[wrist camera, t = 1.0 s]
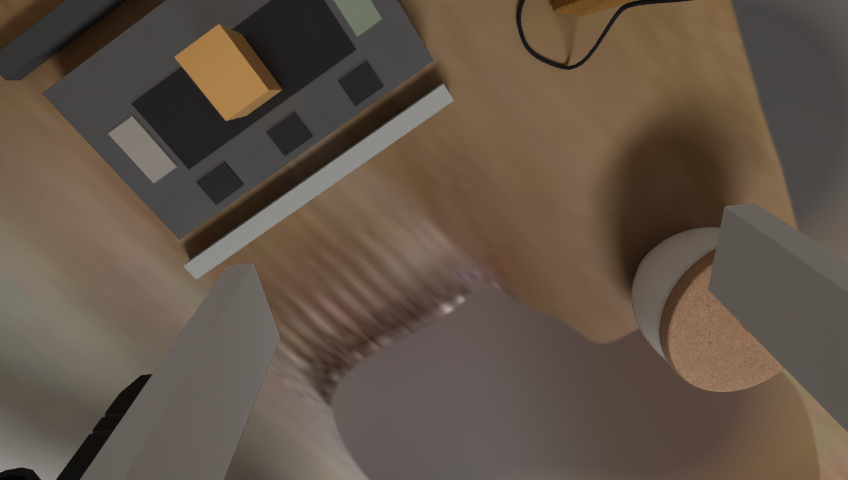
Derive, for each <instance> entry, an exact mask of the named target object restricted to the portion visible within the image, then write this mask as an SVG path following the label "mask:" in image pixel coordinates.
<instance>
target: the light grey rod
mask: <svg viewBox="0 0 848 480" xmlns="http://www.w3.org/2000/svg"><path fill="white" fill-rule="evenodd" d="M452 101H454V100H453V98H452V97H451V95H450V93H449V92H448V90H447V88H446V87H445V85H444V84H440V85H438V86H437V87H435V88H434V89H433V90H431V91H430V92H428V93H427V94H425V95H424V96H423V97H421V98H420V99H418V100H417V101H415V102H414V103H413V104H411V105H410V106H408V107H407V108H405V109H404V110H403V111H401V112H400V113H398V114H397V115H395V116H394V117H393V118H391V119H390V120H388V121H387V122H385V123H384V124H383V125H381V126H380V127H378V128H377V129H376V130H374V131H373V132H371V133H370V134H368V135H367V136H366V137H364V138H363V139H361V140H360V141H358V142H357V143H356V144H354V145H353V146H351V147H350V148H348V149H347V150H346V151H344V152H343V153H341V154H340V155H338V156H337V157H336V158H334V159H333V160H331V161H330V162H328V163H327V164H326V165H324V166H323V167H321V168H320V169H318V170H317V171H316V172H314V173H313V174H311V175H310V176H308V177H307V178H306V179H304V180H303V181H301V182H300V183H298V184H297V185H296V186H294V187H293V188H291V189H290V190H288V191H287V192H286V193H284V194H283V195H281V196H280V197H278V198H277V199H276V200H274V201H273V202H271V203H270V204H268V205H267V206H266V207H264V208H263V209H261V210H260V211H258V212H257V213H256V214H254V215H253V216H251V217H250V218H248V219H247V220H246V221H244V222H243V223H241V224H240V225H238V226H237V227H236V228H234V229H233V230H231V231H230V232H228V233H227V234H226V235H224V236H223V237H221V238H220V239H218V240H217V241H216V242H214V243H213V244H211V245H210V246H208V247H207V248H206V249H204V250H203V251H201V252H200V253H198V254H197V255H196V256H194V257H193V258H191V259H190V260H189V261H188V262H187V263H186V264H185V265H184V267H185V268H186V269H187V270H188V271H189V272H190V273H191V275H192V276H193V277H194V278H195V279H198V278H199V277H201V276H202V275H204V274H205V273H207V272H208V271H209V270H211V269H212V268H214V267H215V266H217V265H218V264H219V263H221V262H222V261H224V260H225V259H227V258H228V257H230V256H231V255H232V254H234V253H235V252H237V251H238V250H240V249H241V248H242V247H244V246H245V245H247V244H248V243H250V242H251V241H253V240H254V239H255V238H257V237H258V236H260V235H261V234H263V233H264V232H265V231H267V230H268V229H270V228H271V227H273V226H274V225H276V224H277V223H278V222H280V221H281V220H283V219H284V218H286V217H287V216H288V215H290V214H291V213H293V212H294V211H296V210H297V209H299V208H300V207H301V206H303V205H304V204H306V203H307V202H309V201H310V200H311V199H313V198H314V197H316V196H317V195H319V194H320V193H322V192H323V191H324V190H326V189H327V188H329V187H330V186H332V185H333V184H334V183H336V182H337V181H339V180H340V179H342V178H343V177H345V176H346V175H347V174H349V173H350V172H352V171H353V170H355V169H356V168H357V167H359V166H360V165H362V164H363V163H365V162H366V161H368V160H369V159H370V158H372V157H373V156H375V155H376V154H378V153H379V152H380V151H382V150H383V149H385V148H386V147H388V146H389V145H391V144H392V143H393V142H395V141H396V140H398V139H399V138H401V137H402V136H403V135H405V134H406V133H408V132H409V131H411V130H412V129H414V128H415V127H416V126H418V125H419V124H421V123H422V122H424V121H425V120H426V119H428V118H429V117H431V116H432V115H434V114H435V113H437V112H438V111H439V110H441V109H442V108H444V107H445V106H447V105H448V104H449V103H451V102H452Z"/></svg>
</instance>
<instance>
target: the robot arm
mask: <svg viewBox="0 0 848 480" xmlns="http://www.w3.org/2000/svg"><path fill="white" fill-rule="evenodd" d="M708 290H709V291H710V292H711V293H712V294H713V295H714V296H715V297H716V298H717V299H718V300H719V302H720V303H721V304H722V305H723V306H724V307H725V308H726V309H727V310H728V311H729V312H730V313H731V314H732V315H733V316H734V317H735V318H736V319H737V320H738V321H739V322H740V323H741V324H742V325H743V326H744V327H745V328H746V329H747V330H748V331H749V332H750V333H751V334H752V335H753V336H754V337H755V338H756V339H757V340H758V341H759V342H760V343H761V344H762V345H763V346H764V347H765V348H766V350H767V351H768V352H769V353H770V354H771V355H772V356H773V357H774V358H775V359H776V360H777V361H778V362H779V363H780V364H781V365H782V366H783V367H784V368H785V369H786V370H787V371H788V372H789V373H790V374H791V375H792V376H793V377H794V378H795V379H796V380H797V381H798V382H799V383H800V384H801V385H802V386H803V387H804V388H805V389H806V390H807V391H808V392H809V393H810V394H811V395H812V396H813V398H814V399H815V400H816V401H817V402H818V403H819V404H820V405H821V406H822V407H823V408H824V409H825V410H826V411H827V412H828V413H829V414H830V415H831V416H832V417H833V418H834V419H835V420H836V421H837V422H838V423H839V424H840V425H841V426H842V427H843V428H844V429H845V430H846V431H847V432H848V262H847V261H846V260H844V259H842V258H841V257H839V256H838V255H836V254H834V253H833V252H831V251H829V250H828V249H826V248H825V247H823V246H821V245H820V244H819V243H816V242H815V241H814V240H812V239H811V238H809V237H807V236H806V235H804V234H803V233H801V232H799V231H798V230H796V229H795V228H793V227H791V226H790V225H788V224H787V223H785V222H783V221H782V220H780V219H779V218H777V217H775V216H774V215H772V214H771V213H769V212H767V211H766V210H764V209H763V208H761V207H759V206H758V205H756V204H755V203H747V204H739V205H731V206H724V211H723V216H722V221H721V226H720V232H719V237H718V242H717V247H716V252H715V257H714V262H713V267H712V272H711V277H710V282H709V287H708ZM279 339H280V336H279V334H278V331H277V328H276V325H275V322H274V320H273V317H272V314H271V311H270V308H269V305H268V303H267V300H266V297H265V294H264V291H263V289H262V286H261V283H260V280H259V277H258V274H257V272H256V269H255V266H254V263H247V264H239V265H231V266H227V267H226V268H225V270H224V271H223V273H222V274H221V276H220V277H219V279H218V280H217V281H216V283H215V284H214V286H213V287H212V289H211V290H210V292H209V293H208V295H207V296H206V297H205V299H204V300H203V302H202V303H201V305H200V306H199V308H198V309H197V311H196V312H195V313H194V315H193V316H192V318H191V319H190V321H189V322H188V324H187V325H186V326H185V328H184V329H183V331H182V332H181V334H180V335H179V337H178V338H177V340H176V341H175V342H174V344H173V345H172V347H171V348H170V350H169V351H168V353H167V354H166V356H165V357H164V358H163V360H162V361H161V363H160V364H159V366H158V367H157V369H156V370H155V371H154V373H153V374H149V375H141V376H140V377H138V378H137V379H136V380H135V381H134V382H133V383H131V384H130V385H129V386H128V387H127V388H126V389H124V390H123V391H122V392H121V393H120V394H119V395H118V396H117V398H116V399H115V401H114V402H113V403H112V405H111V406H110V407H109V409H108V410H107V411H106V413H105V417H102V418H101V419H100V421H99V422H98V424H97V425H96V426H95V428H94V429H93V433H92V434H90V435H89V436H88V437H87V438H86V440H85V441H84V443H83V444H82V445H81V447H80V448H79V449H78V451H77V452H76V453H75V455H74V456H73V457H72V459H71V460H70V461H69V463H68V464H67V466H66V467H65V468H64V470H63V471H62V472H61V474H60V475H59V476H58V478H57V479H56V480H224V478H225V476H226V473H227V471H228V468H229V466H230V463H231V461H232V458H233V455H234V453H235V450H236V448H237V445H238V443H239V440H240V438H241V435H242V433H243V430H244V428H245V425H246V422H247V420H248V417H249V415H250V412H251V410H252V407H253V405H254V402H255V400H256V397H257V395H258V392H259V389H260V387H261V384H262V382H263V379H264V377H265V374H266V372H267V369H268V367H269V364H270V362H271V359H272V356H273V354H274V351H275V349H276V346H277V344H278V341H279ZM0 480H41V479H40V478H39V477H38V476H37V474H36V473H35V472H34V471H33V470H31V469H26V468H22V467H21V468H16V469H11V470H6V471H3V472H1V473H0Z"/></svg>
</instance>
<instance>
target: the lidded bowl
mask: <svg viewBox="0 0 848 480" xmlns="http://www.w3.org/2000/svg"><path fill="white" fill-rule="evenodd" d="M719 232H720V228H716V227H706V228H697V229H691V230H687V231H683V232H681V233H678V234H675V235H673V236H671V237H669V238H667V239H665V240H664V241H662V242H661V243H659V244H658V245H657V246H655V247H654V248H653V249H651V250H650V251H649V252H648V253H647V254H646V255H645V257H644V258H643V259H642V261H641V262H640V264H639V266H638V268H637V271H636V274H635V276H634V280H633V284H632V292H631V299H632V308H633V312H634V316H635V319H636V321H637V324H638V326H639V328H640V330H641V331H642V333H643V334H644V336H645V337H646V339H647V340H648V342H649V343H650V344H651V345H652V347H653V348H654V349H655V350H656V351H657V352H658V353H659V354H660V355H661V356H662V357H663V358H664V359H665V360H666V361H667V362H668V363H669V364H670V366H671V367H672V368H673V369H674V370H675V371H676V372H677V373H678V374H679V375H680V376H681V377H682V378H683V379H685V380H686V381H687V382H689V383H690V384H692V385H694V386H696V387H698V388H701V389H704V390H709V391H715V392H730V391H737V390H742V389H746V388H749V387H752V386H755V385H757V384H759V383H762V382H763V381H765V380H767V379H769V378H771V377H773V376H774V375H776V374H777V373H778V372H780V371H781V370H783V369H784V367H783V366H782V365H781V364H780V363H779V362H778V361H777V360H776V359H775V358H774V357H773V356H772V355H771V354H770V353H769V352H768V351H767V350H766V348H765V347H764V346H763V345H762V344H761V343H760V342H759V341H758V340H757V339H756V338H755V337H754V336H753V335H752V334H751V333H750V332H749V331H748V330H747V329H746V328H745V327H744V326H743V325H742V324H741V323H740V322H739V321H738V320H737V319H736V318H735V317H734V316H733V315H732V314H731V313H730V312H729V311H728V310H727V309H726V308H725V307H724V306H723V305H722V304H721V303H720V302H719V300H718V299H717V298H716V297H715V296H714V295H713V294H712V293H711V292H710V291H709V290H708V287H709V282H710V277H711V272H712V267H713V262H714V257H715V252H716V247H717V242H718V237H719Z"/></svg>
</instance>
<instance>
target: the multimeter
mask: <svg viewBox="0 0 848 480" xmlns="http://www.w3.org/2000/svg"><path fill="white" fill-rule="evenodd" d="M524 1H525V0H521V2H520V5H519V9H518V14H517V22H518V29H519V33H520V37H521V39H522V42H523V44H524V46H525V48H526V49H527V50H528V52H529V53H531V54H532V55H533V56H534V57H536V58H537V59H539V60H541V61H542V62H544V63H547V64H549V65H552V66H555V67H557V68H560V69H568V70H570V69H574V68H577V67H579V66H580V65H582V64H583V63H584V62H585V61H587V60H588V59H589V58H590V56H591V55H592V54H593V53H594V51H595V50H596V49H597V47H598V46H599V44H600V43H601V41H602V40H603V38H604V37H605V35H606V33H607V32H608V30H609V29H610V27H611V26H612V24H613V23H614V21H615V20H616V19H617V17H618V16H619V15H620V14H621V13H622V12H623V11H624V10H626V9H627V8H630V7H633V6H638V5H646V4H656V3H670V2H682V1H691V0H639V1H635V0H553V4H552V7H553V11H554V12H555V13H564V14H574V15H583V16H586V15H588V14H591V13H594V12H598V11H601V10H605V9H608V8H612V7H615V6H619V5H622V4H625V5H623V6H622V7H621V8H620V9H619V10H618V11H617V12H616V13H615V15H614V16H613V17H612V19H611V20H610V22H609V24H608V25H607V27H606V28H605V30H604V31H603V33H602V35H601V36H600V38H599V39H598V41H597V43H596V44H595V46H594V47H593V48H592V49H591V51H590V52H589V53H588V55H587V56H586V57H585V58H584V59H583V60H582V61H580V62H579V63H577V64H576V65H572V66H562V65H559V64H556V63H553V62H551V61H549V60H546V59H544V58H542V57H541V56H539V55H537V54H536V53H535V52H534V51H533V50H532V49H531V48H530V47H529V46H528V44H527V42H526V40H525V37H524V34H523V30H522V26H521V11H522V7H523V4H524ZM632 1H634V2H632ZM629 2H630V3H629ZM626 3H627V4H626Z"/></svg>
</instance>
